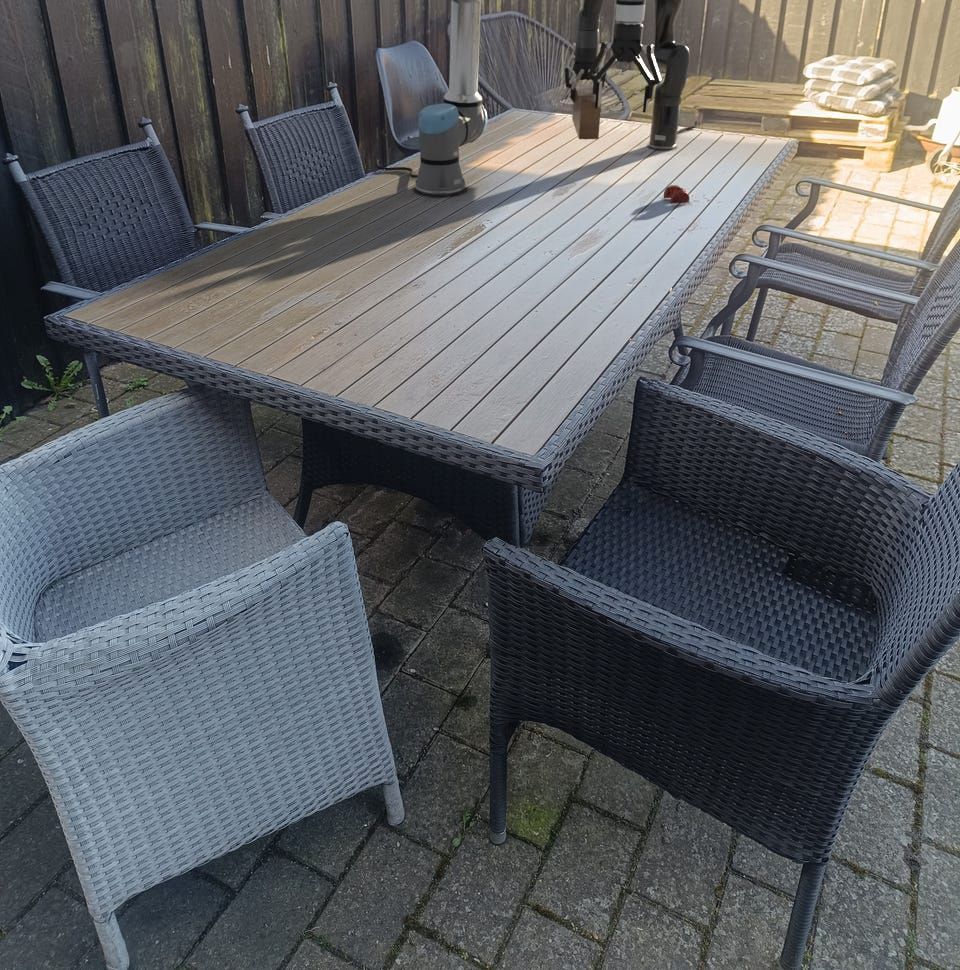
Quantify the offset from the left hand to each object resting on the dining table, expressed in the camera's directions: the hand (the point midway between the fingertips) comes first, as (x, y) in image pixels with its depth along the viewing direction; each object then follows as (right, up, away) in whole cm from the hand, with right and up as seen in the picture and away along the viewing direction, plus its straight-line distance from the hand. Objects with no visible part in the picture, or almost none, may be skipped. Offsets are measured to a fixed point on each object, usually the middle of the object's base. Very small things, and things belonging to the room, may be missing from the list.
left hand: (621, 109), depth 233 cm
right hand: (-5, +24, +47) cm, 53 cm away
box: (-5, +13, +43) cm, 45 cm away
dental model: (+19, -20, +16) cm, 32 cm away
